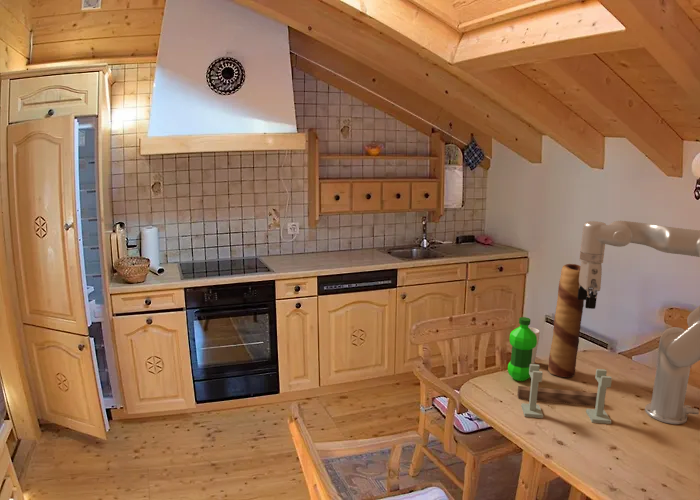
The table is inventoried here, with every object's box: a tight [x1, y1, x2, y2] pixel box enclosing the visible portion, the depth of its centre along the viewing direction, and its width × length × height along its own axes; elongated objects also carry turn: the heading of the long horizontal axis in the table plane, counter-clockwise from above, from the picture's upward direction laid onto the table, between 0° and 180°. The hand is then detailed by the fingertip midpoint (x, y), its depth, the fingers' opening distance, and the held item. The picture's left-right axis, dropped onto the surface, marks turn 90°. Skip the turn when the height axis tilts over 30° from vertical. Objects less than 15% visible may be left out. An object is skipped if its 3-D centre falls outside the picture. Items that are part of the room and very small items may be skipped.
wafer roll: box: [547, 263, 585, 378], centre depth 207 cm, size 10×11×45 cm
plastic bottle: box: [507, 316, 537, 382], centre depth 204 cm, size 10×10×25 cm
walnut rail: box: [517, 385, 597, 407], centre depth 189 cm, size 28×3×4 cm, turn 80°
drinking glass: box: [528, 326, 540, 364], centre depth 219 cm, size 7×7×15 cm
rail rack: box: [520, 363, 613, 425], centre depth 178 cm, size 28×7×17 cm, turn 82°
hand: (586, 303), depth 184 cm, fingers open, 9 cm apart
